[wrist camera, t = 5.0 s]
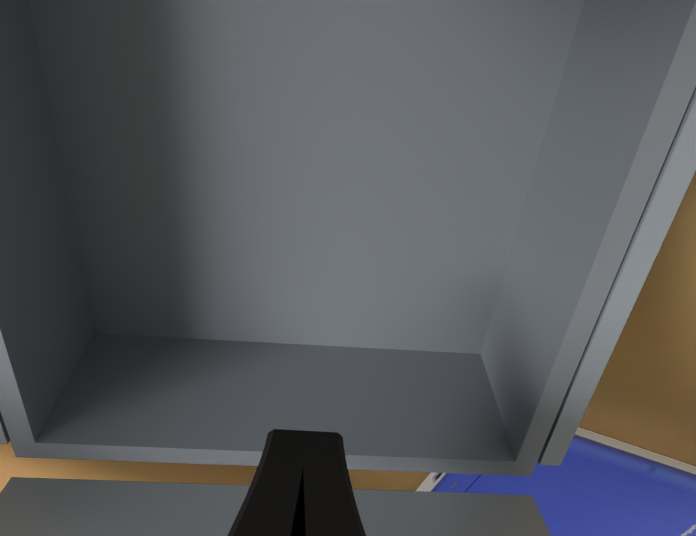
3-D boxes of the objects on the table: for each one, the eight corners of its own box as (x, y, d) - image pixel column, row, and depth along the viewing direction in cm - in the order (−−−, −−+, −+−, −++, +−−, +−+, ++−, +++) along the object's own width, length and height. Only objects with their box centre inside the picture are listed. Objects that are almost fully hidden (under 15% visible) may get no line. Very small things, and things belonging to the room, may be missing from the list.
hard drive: (748, 499, 24) (499, 417, 21) (620, 595, 28) (395, 538, 25) (726, 468, 25) (489, 386, 22) (607, 564, 29) (391, 506, 26)
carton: (62, 333, 19) (-12, 455, 15) (-132, -510, 9) (-497, -825, 5) (508, 357, 20) (554, 477, 16) (748, -371, 11) (1021, -541, 6)
